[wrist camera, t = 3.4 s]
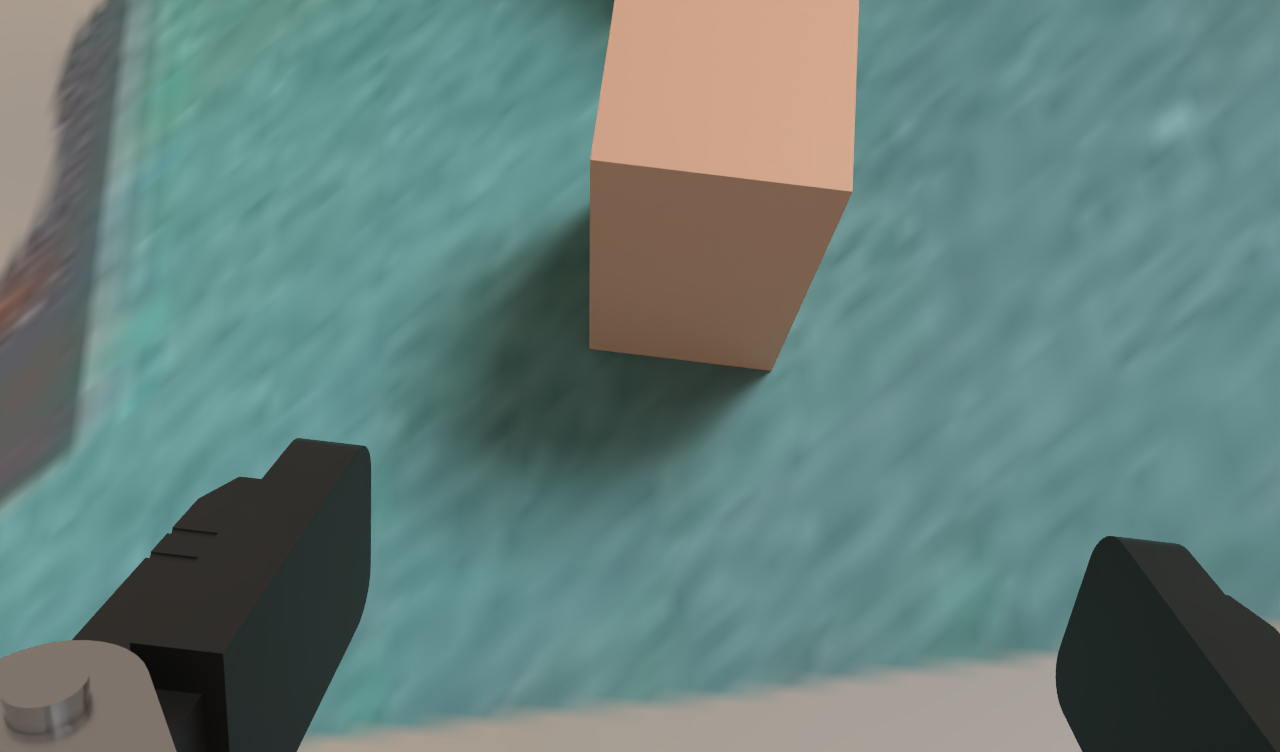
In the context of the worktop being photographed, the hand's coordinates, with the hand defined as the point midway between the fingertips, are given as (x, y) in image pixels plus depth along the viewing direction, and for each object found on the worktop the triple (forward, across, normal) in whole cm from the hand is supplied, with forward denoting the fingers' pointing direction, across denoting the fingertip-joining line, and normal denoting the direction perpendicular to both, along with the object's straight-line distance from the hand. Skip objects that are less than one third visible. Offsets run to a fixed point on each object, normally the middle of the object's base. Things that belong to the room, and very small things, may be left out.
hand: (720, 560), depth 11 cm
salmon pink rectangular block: (+18, 0, +2) cm, 18 cm away
